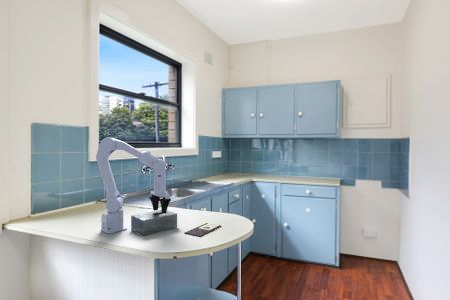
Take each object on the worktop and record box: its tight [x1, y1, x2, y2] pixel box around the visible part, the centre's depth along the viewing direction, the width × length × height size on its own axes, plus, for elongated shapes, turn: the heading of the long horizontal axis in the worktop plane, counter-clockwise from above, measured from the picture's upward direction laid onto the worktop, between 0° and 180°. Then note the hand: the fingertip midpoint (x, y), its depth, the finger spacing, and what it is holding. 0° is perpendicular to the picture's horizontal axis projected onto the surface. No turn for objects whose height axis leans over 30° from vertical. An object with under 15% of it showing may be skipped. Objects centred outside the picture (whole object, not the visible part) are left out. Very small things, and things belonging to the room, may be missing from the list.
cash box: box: [130, 209, 178, 237], centre depth 136 cm, size 18×12×7 cm, turn 135°
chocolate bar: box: [184, 222, 222, 238], centre depth 134 cm, size 9×1×18 cm
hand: (159, 211), depth 138 cm, fingers open, 7 cm apart
